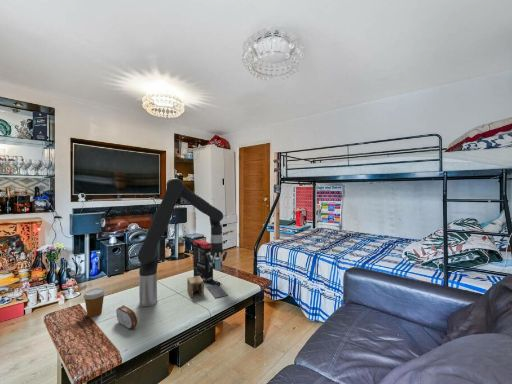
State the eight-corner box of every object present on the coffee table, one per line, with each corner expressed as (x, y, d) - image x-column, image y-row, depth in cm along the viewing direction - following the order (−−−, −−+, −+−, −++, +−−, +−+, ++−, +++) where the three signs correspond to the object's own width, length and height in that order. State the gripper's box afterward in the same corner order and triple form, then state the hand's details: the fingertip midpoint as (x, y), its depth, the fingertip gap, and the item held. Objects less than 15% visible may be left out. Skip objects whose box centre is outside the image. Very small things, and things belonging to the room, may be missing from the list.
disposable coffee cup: (100, 318, 123) (99, 294, 122) (79, 319, 121) (79, 296, 121) (108, 308, 132) (108, 287, 132) (89, 310, 130) (89, 288, 130)
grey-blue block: (215, 270, 150) (215, 260, 149) (209, 264, 161) (209, 255, 161) (220, 269, 151) (220, 260, 151) (214, 263, 163) (214, 255, 163)
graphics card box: (213, 280, 172) (213, 242, 172) (205, 283, 167) (205, 244, 167) (200, 274, 184) (200, 239, 184) (192, 277, 179) (192, 240, 179)
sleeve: (190, 298, 144) (190, 283, 144) (187, 292, 153) (187, 277, 153) (203, 295, 148) (203, 280, 147) (199, 289, 156) (199, 275, 156)
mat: (215, 298, 144) (215, 297, 144) (206, 287, 160) (206, 286, 160) (227, 295, 147) (227, 294, 147) (218, 285, 163) (218, 284, 163)
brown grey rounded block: (138, 329, 113) (137, 311, 113) (131, 332, 110) (131, 314, 110) (121, 319, 121) (121, 303, 121) (115, 322, 119) (115, 305, 118)
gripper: (207, 243, 146) (207, 271, 146) (229, 241, 152) (229, 268, 152) (204, 241, 152) (204, 268, 153) (225, 239, 159) (225, 264, 159)
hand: (217, 268), depth 153 cm, fingers closed on grey-blue block, 3 cm apart
